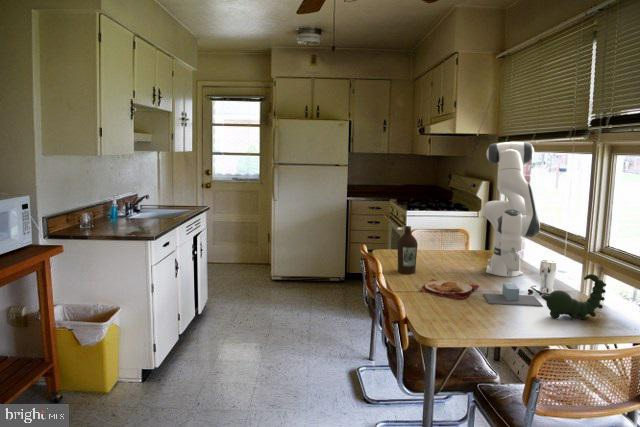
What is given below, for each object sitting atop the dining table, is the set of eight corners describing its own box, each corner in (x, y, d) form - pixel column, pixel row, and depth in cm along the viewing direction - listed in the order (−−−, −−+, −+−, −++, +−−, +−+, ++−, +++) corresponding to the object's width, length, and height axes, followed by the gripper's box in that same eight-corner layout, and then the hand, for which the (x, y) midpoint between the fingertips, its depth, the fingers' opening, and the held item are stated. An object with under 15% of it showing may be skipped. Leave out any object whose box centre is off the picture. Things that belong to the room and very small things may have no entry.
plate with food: (479, 289, 241) (479, 282, 241) (464, 301, 219) (464, 293, 219) (431, 282, 254) (431, 275, 253) (412, 293, 232) (413, 286, 232)
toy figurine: (590, 317, 204) (532, 313, 202) (597, 272, 202) (539, 267, 199) (605, 325, 195) (544, 321, 192) (613, 278, 192) (552, 273, 190)
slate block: (502, 282, 228) (507, 288, 218) (514, 283, 228) (519, 289, 218) (502, 293, 229) (506, 299, 219) (513, 293, 228) (518, 300, 218)
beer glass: (545, 294, 229) (547, 262, 227) (535, 290, 236) (537, 259, 234) (557, 293, 231) (560, 262, 229) (547, 289, 238) (549, 258, 236)
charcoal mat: (483, 294, 229) (483, 293, 229) (533, 296, 226) (533, 295, 226) (488, 303, 215) (489, 302, 215) (542, 306, 212) (542, 305, 212)
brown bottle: (394, 269, 274) (395, 225, 271) (412, 269, 275) (414, 224, 272) (399, 274, 263) (401, 228, 260) (419, 274, 265) (420, 227, 262)
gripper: (524, 251, 215) (522, 282, 218) (512, 241, 235) (511, 269, 238) (508, 250, 216) (507, 281, 218) (498, 241, 236) (497, 269, 238)
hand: (509, 275), depth 228 cm, fingers closed
